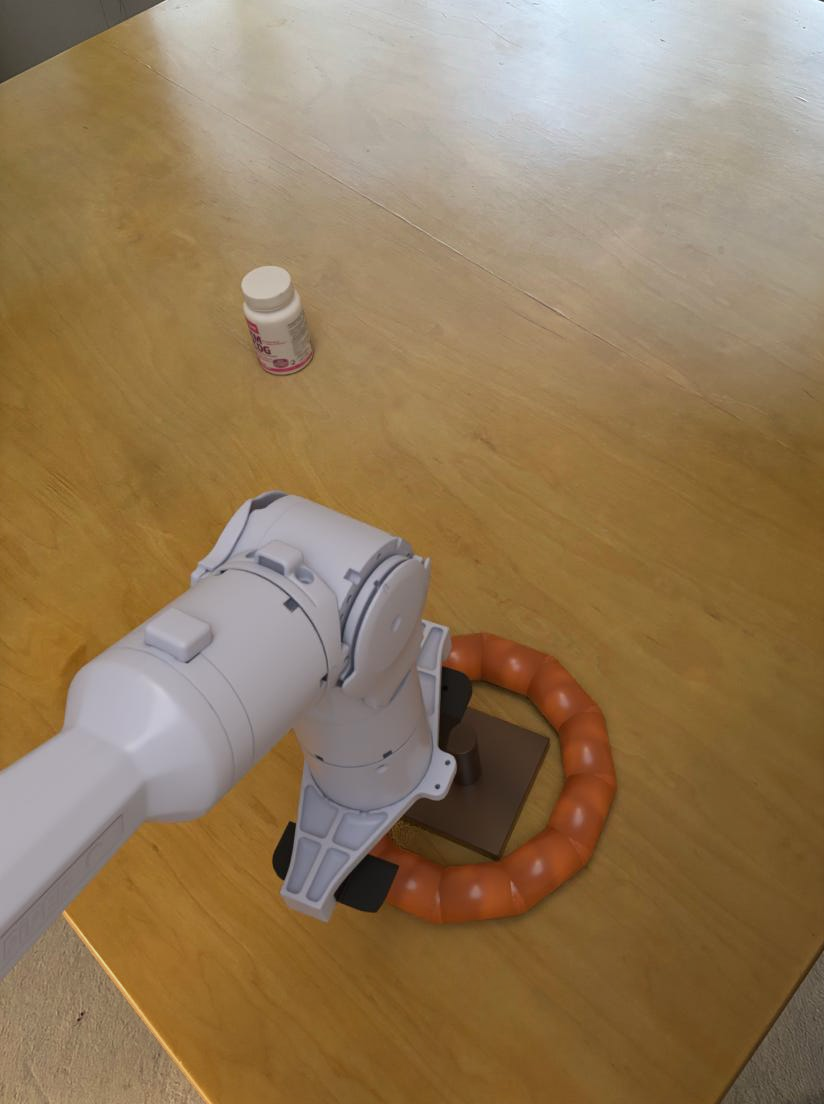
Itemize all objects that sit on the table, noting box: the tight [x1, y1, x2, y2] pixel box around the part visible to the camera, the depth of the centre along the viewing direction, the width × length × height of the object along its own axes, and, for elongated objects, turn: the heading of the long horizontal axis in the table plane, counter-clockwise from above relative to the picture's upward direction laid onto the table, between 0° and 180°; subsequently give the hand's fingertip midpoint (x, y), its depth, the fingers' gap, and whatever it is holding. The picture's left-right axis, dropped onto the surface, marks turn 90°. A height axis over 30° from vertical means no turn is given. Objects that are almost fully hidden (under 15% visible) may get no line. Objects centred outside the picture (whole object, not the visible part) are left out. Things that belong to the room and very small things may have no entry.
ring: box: [368, 632, 618, 926], centre depth 66 cm, size 18×18×3 cm
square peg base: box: [399, 705, 551, 861], centre depth 65 cm, size 8×8×6 cm
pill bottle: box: [240, 265, 314, 376], centre depth 88 cm, size 5×5×8 cm
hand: (394, 824), depth 57 cm, fingers open, 7 cm apart
